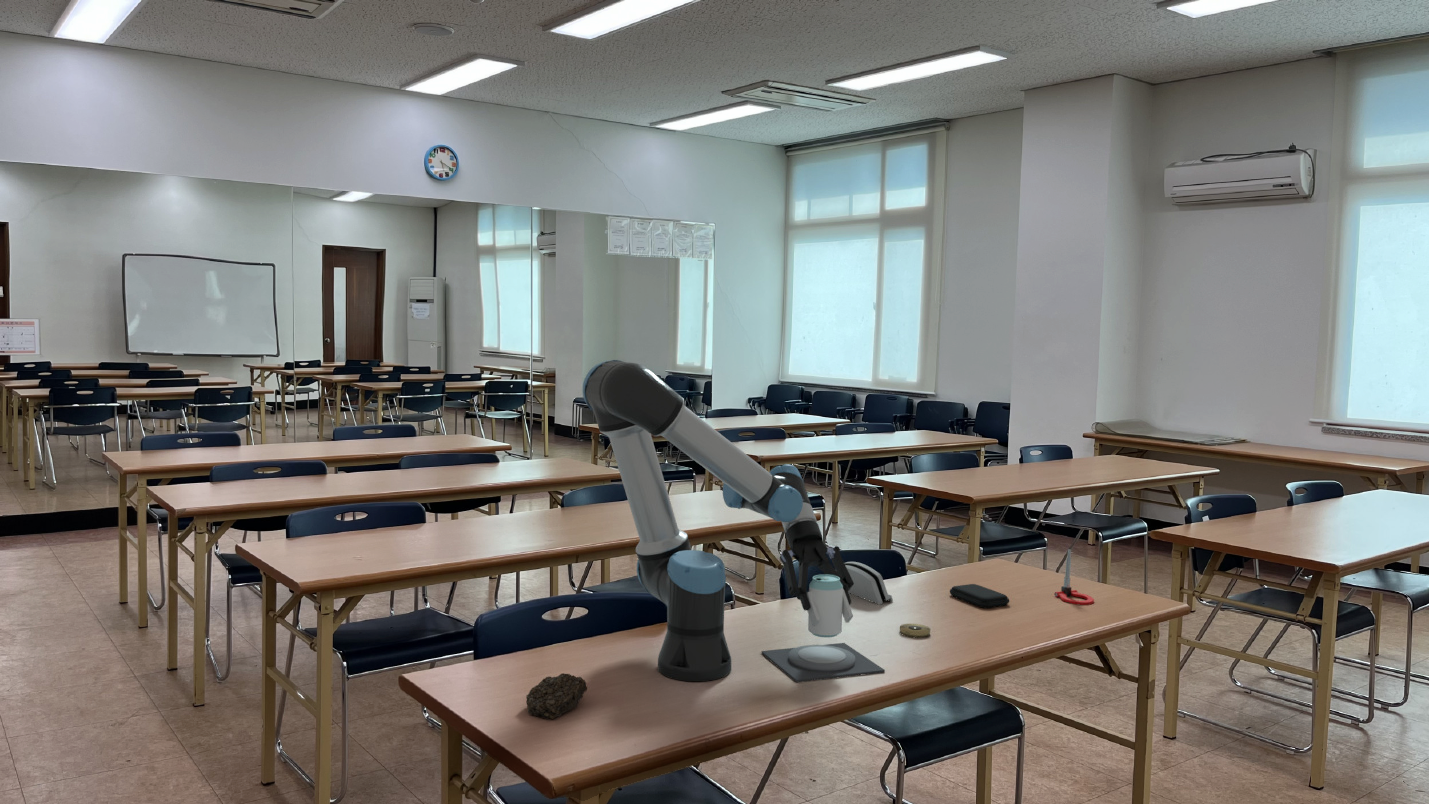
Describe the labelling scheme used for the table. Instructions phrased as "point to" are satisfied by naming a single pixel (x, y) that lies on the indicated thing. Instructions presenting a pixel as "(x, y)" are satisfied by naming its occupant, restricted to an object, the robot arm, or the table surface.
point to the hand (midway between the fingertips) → (832, 621)
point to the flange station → (821, 662)
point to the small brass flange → (915, 630)
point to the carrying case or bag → (979, 596)
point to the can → (827, 605)
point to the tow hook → (1067, 589)
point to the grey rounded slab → (867, 583)
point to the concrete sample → (555, 695)
